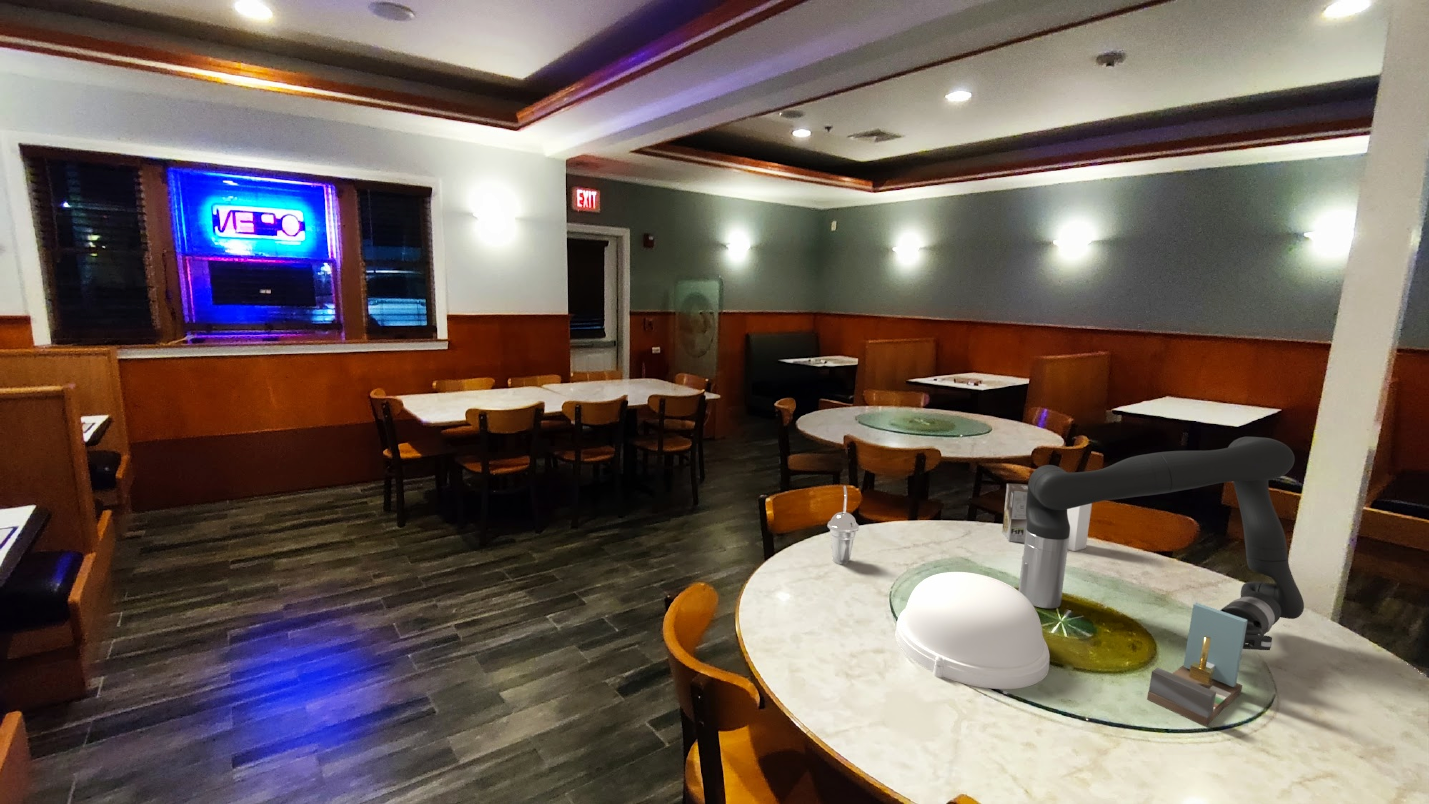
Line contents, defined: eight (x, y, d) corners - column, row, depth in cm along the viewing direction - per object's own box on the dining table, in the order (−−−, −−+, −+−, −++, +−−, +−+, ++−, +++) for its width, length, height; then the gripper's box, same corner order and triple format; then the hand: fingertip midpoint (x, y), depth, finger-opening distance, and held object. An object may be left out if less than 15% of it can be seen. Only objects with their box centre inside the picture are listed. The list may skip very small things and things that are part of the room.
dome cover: (934, 598, 156) (939, 544, 154) (1069, 646, 136) (1077, 584, 134) (866, 647, 133) (871, 583, 131) (1017, 714, 113) (1025, 640, 111)
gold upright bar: (1193, 673, 122) (1199, 632, 120) (1211, 681, 119) (1219, 639, 118) (1188, 677, 121) (1195, 635, 119) (1207, 685, 118) (1215, 642, 117)
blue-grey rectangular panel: (1186, 664, 127) (1196, 602, 124) (1236, 684, 120) (1247, 619, 118) (1177, 671, 124) (1187, 608, 122) (1227, 692, 118) (1239, 626, 115)
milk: (1086, 548, 192) (1096, 477, 188) (1074, 551, 189) (1084, 479, 185) (1066, 541, 197) (1076, 472, 194) (1054, 544, 194) (1063, 474, 191)
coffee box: (1031, 543, 194) (1037, 492, 192) (1008, 541, 195) (1014, 490, 193) (1023, 533, 203) (1028, 484, 200) (1001, 531, 204) (1006, 482, 202)
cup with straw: (820, 561, 175) (824, 491, 172) (833, 551, 183) (838, 484, 180) (849, 570, 171) (854, 497, 167) (862, 559, 178) (867, 490, 175)
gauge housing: (1185, 669, 128) (1189, 644, 127) (1241, 692, 121) (1245, 665, 120) (1147, 699, 118) (1151, 671, 117) (1205, 726, 111) (1210, 697, 110)
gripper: (1210, 589, 137) (1178, 610, 127) (1290, 615, 126) (1262, 640, 116) (1205, 622, 138) (1172, 645, 128) (1284, 650, 128) (1256, 678, 118)
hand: (1215, 642), depth 122 cm, fingers closed
